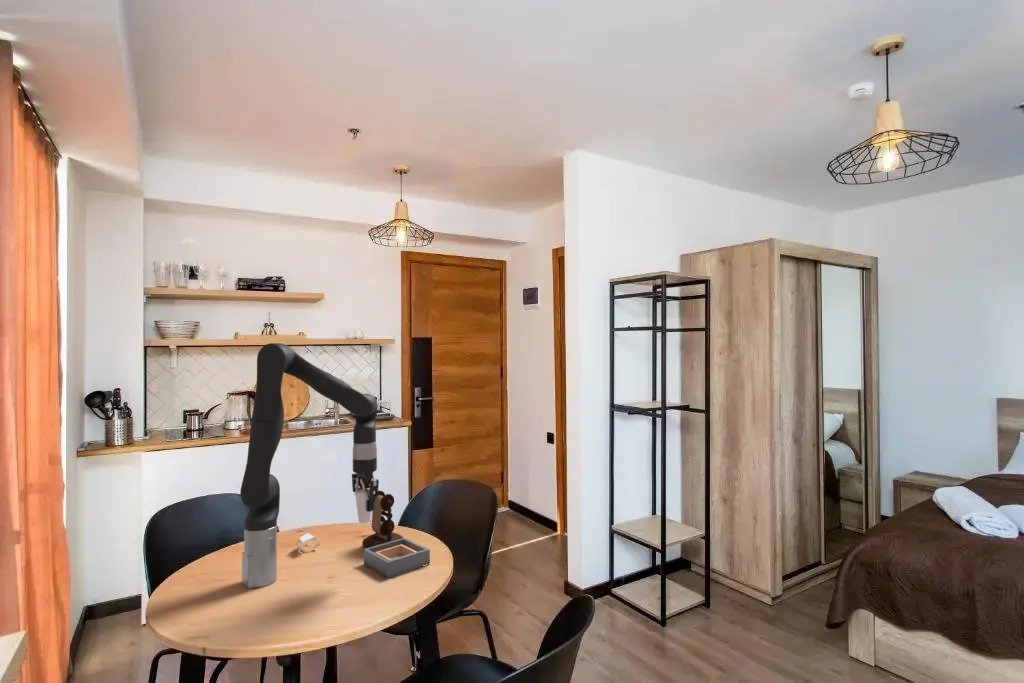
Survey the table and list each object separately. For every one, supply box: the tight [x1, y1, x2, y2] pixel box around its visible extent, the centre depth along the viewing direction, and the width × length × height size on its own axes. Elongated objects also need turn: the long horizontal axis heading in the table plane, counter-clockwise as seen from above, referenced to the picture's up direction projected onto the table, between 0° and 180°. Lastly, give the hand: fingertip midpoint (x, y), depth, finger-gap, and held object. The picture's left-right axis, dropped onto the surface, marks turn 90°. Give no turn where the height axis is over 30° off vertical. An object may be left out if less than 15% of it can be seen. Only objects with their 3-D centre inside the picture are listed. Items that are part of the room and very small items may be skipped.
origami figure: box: [295, 532, 321, 557], centre depth 193 cm, size 12×8×5 cm
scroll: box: [361, 490, 404, 549], centre depth 195 cm, size 15×15×20 cm
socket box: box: [363, 537, 431, 579], centre depth 179 cm, size 16×16×5 cm
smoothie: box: [354, 489, 375, 524], centre depth 169 cm, size 6×6×14 cm
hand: (365, 508), depth 169 cm, fingers closed on smoothie, 6 cm apart
